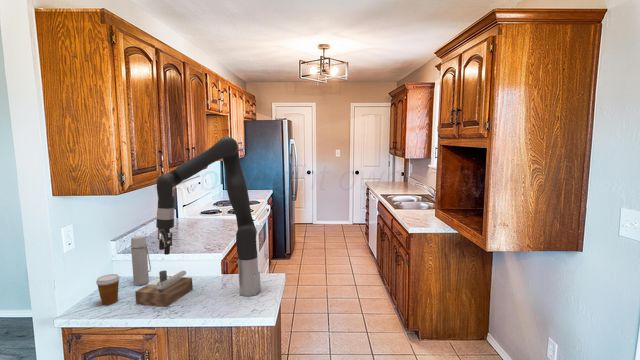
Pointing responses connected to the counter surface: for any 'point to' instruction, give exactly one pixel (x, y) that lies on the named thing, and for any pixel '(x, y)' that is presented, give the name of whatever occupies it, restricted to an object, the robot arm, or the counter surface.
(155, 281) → the lid
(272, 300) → the counter surface
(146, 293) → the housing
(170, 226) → the robot arm
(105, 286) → the disposable coffee cup
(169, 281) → the latch bar
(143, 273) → the water bottle
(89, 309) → the counter surface
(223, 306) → the counter surface
